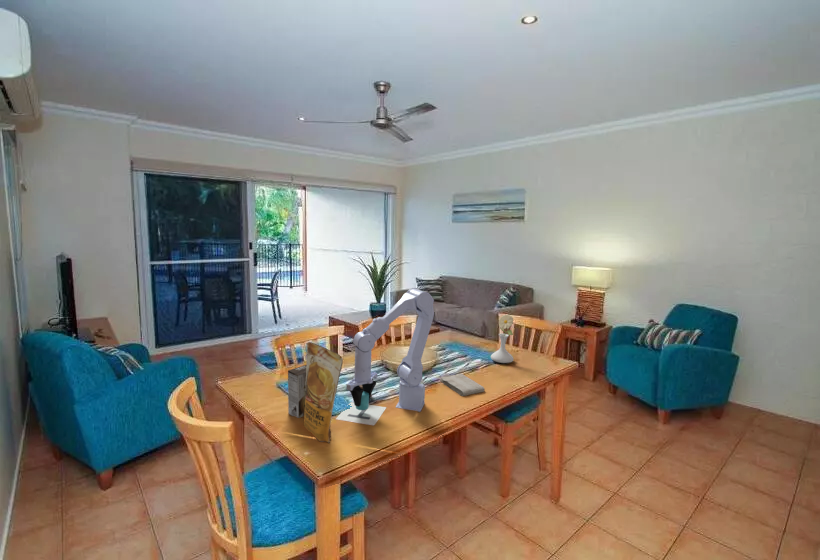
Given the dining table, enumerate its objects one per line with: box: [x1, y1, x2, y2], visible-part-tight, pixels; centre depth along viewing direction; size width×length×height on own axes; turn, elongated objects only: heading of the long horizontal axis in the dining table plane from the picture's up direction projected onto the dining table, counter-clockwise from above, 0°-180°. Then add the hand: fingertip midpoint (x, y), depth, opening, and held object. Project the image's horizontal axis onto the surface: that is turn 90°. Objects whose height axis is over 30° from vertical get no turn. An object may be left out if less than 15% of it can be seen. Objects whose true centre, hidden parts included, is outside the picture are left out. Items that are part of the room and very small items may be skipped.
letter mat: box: [335, 401, 387, 426], centre depth 145 cm, size 14×14×1 cm
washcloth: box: [439, 373, 486, 397], centre depth 174 cm, size 12×18×3 cm, turn 30°
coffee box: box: [287, 364, 306, 419], centre depth 144 cm, size 9×6×16 cm
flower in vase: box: [490, 314, 514, 364], centre depth 205 cm, size 13×11×25 cm
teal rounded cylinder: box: [356, 391, 370, 410], centre depth 145 cm, size 4×4×5 cm
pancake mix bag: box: [303, 341, 344, 443], centre depth 131 cm, size 7×19×28 cm, turn 40°
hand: (362, 403), depth 145 cm, fingers closed on teal rounded cylinder, 4 cm apart
